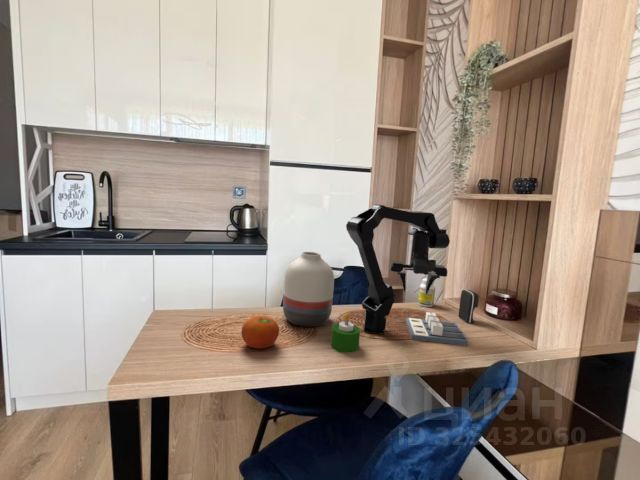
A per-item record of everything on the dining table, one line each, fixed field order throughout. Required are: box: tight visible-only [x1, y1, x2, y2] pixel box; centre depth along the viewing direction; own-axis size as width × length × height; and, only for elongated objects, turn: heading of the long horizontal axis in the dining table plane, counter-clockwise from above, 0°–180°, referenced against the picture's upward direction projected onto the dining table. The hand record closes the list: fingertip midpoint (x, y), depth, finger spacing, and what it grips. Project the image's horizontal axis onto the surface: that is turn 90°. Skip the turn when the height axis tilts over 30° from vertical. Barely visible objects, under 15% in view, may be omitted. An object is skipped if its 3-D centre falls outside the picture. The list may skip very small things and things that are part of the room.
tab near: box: [431, 322, 443, 336], centre depth 115 cm, size 3×3×3 cm
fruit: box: [241, 315, 280, 349], centre depth 101 cm, size 11×10×8 cm
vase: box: [282, 251, 335, 328], centre depth 121 cm, size 17×17×24 cm
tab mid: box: [428, 317, 441, 329], centre depth 119 cm, size 3×3×3 cm
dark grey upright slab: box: [458, 289, 480, 324], centre depth 134 cm, size 7×4×11 cm, turn 10°
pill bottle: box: [417, 278, 436, 308], centre depth 149 cm, size 6×6×11 cm
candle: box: [330, 313, 361, 354], centre depth 104 cm, size 8×8×10 cm
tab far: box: [424, 311, 438, 323], centre depth 124 cm, size 3×3×3 cm
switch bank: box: [405, 317, 468, 346], centre depth 120 cm, size 17×16×2 cm
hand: (415, 292), depth 124 cm, fingers open, 7 cm apart
